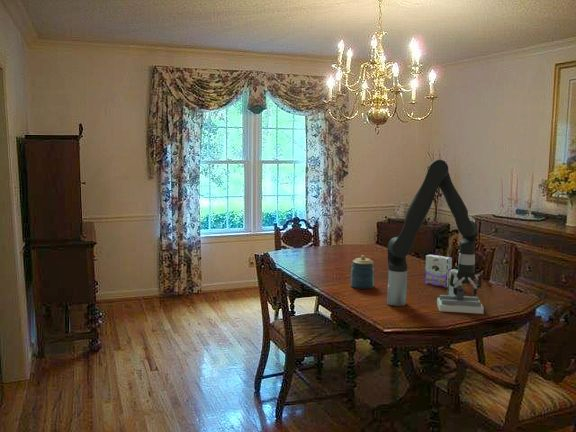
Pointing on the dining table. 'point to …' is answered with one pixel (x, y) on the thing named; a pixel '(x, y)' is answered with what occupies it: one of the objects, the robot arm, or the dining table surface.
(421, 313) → the dining table surface
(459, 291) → the breaker lever
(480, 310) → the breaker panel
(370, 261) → the canister
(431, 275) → the candy box
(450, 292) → the syrup box
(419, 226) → the robot arm
